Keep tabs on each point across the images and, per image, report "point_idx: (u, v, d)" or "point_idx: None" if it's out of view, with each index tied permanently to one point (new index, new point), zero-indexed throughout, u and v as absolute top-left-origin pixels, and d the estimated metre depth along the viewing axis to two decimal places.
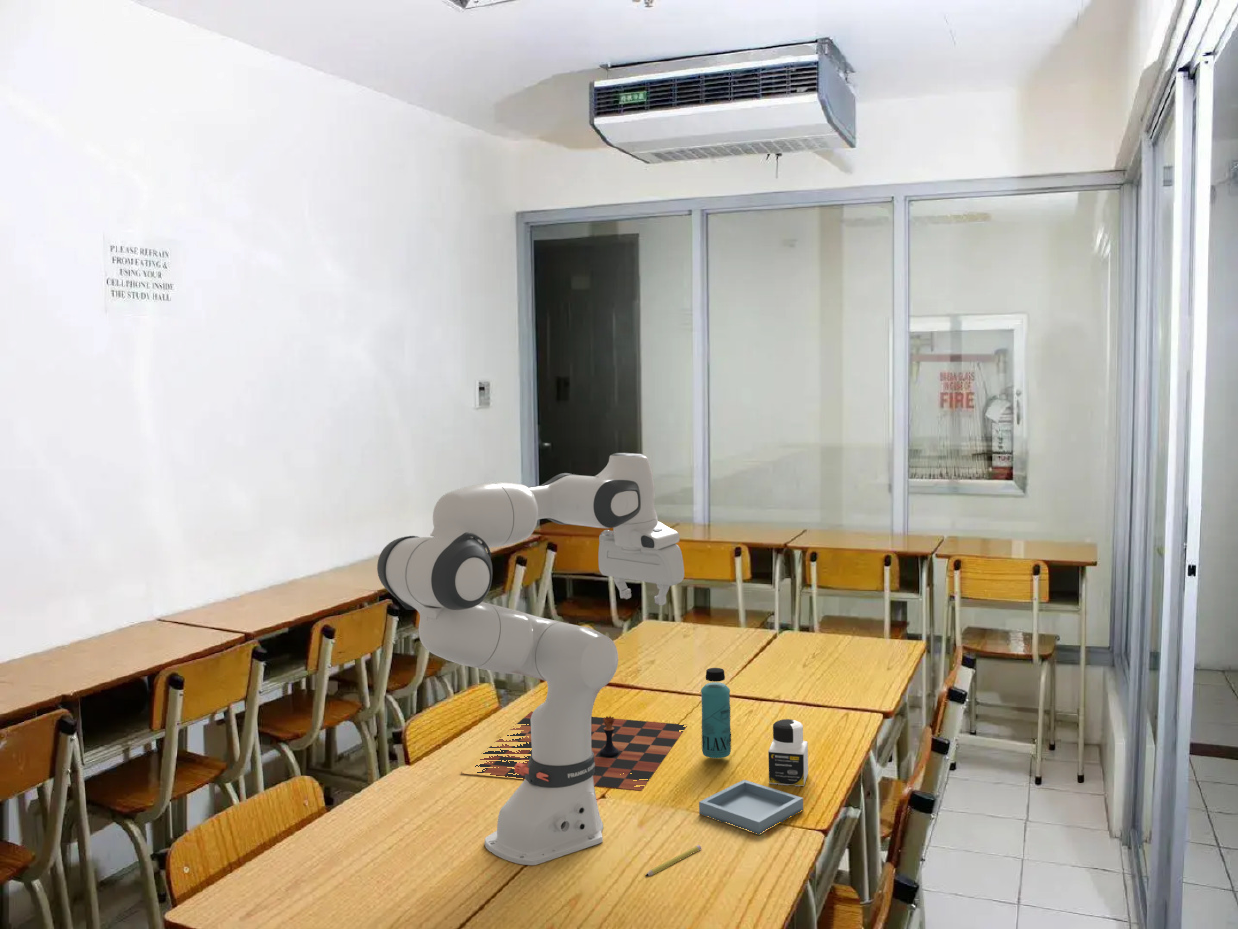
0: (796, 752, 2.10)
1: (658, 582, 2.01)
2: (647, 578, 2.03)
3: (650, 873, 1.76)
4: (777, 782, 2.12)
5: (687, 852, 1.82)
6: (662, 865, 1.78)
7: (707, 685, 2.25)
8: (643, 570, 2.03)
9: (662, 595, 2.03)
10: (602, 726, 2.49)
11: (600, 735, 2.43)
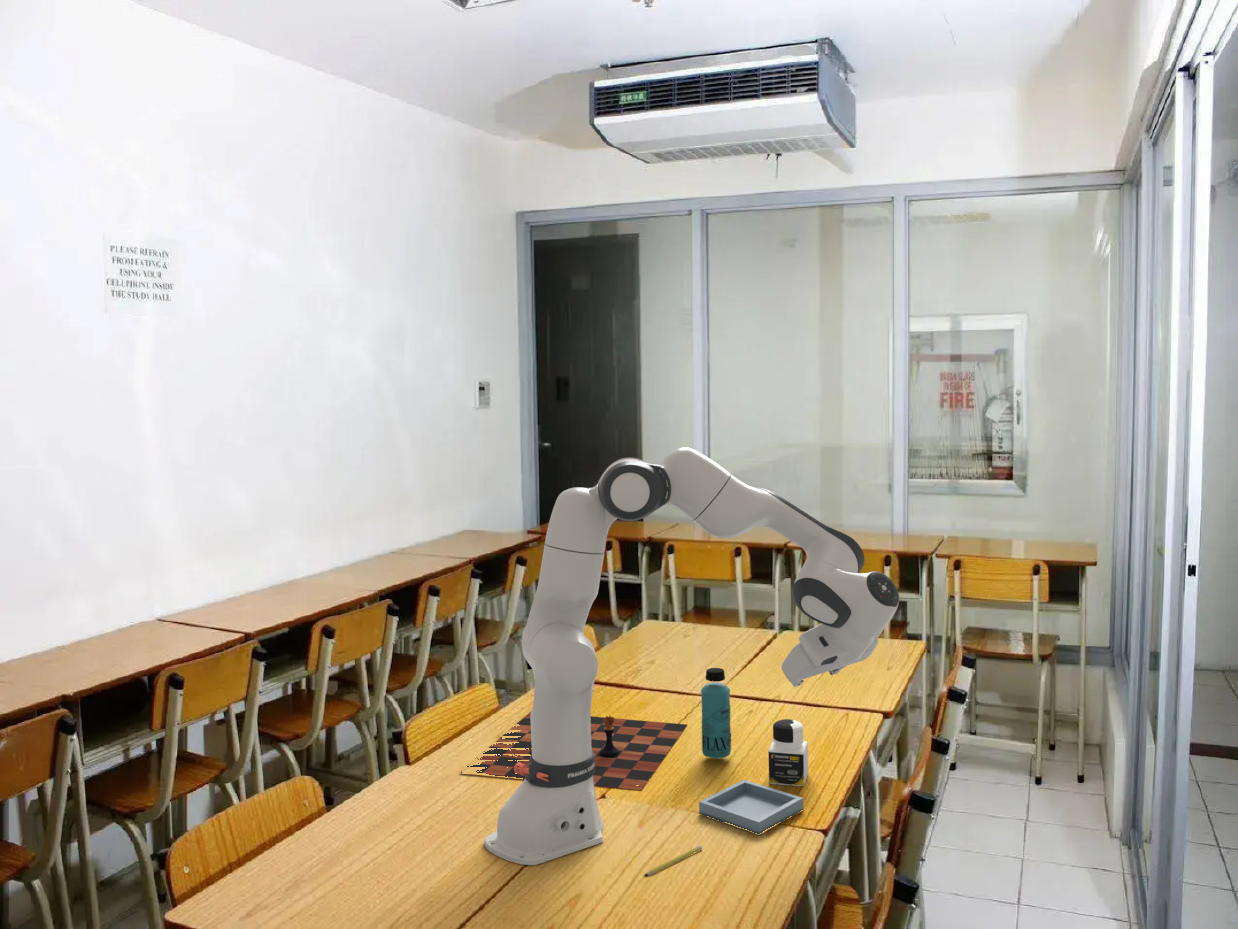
0: (796, 752, 2.10)
1: None
2: None
3: (649, 873, 1.76)
4: (777, 782, 2.12)
5: (688, 852, 1.82)
6: (662, 865, 1.78)
7: (707, 685, 2.25)
8: None
9: None
10: (602, 726, 2.49)
11: (600, 735, 2.43)
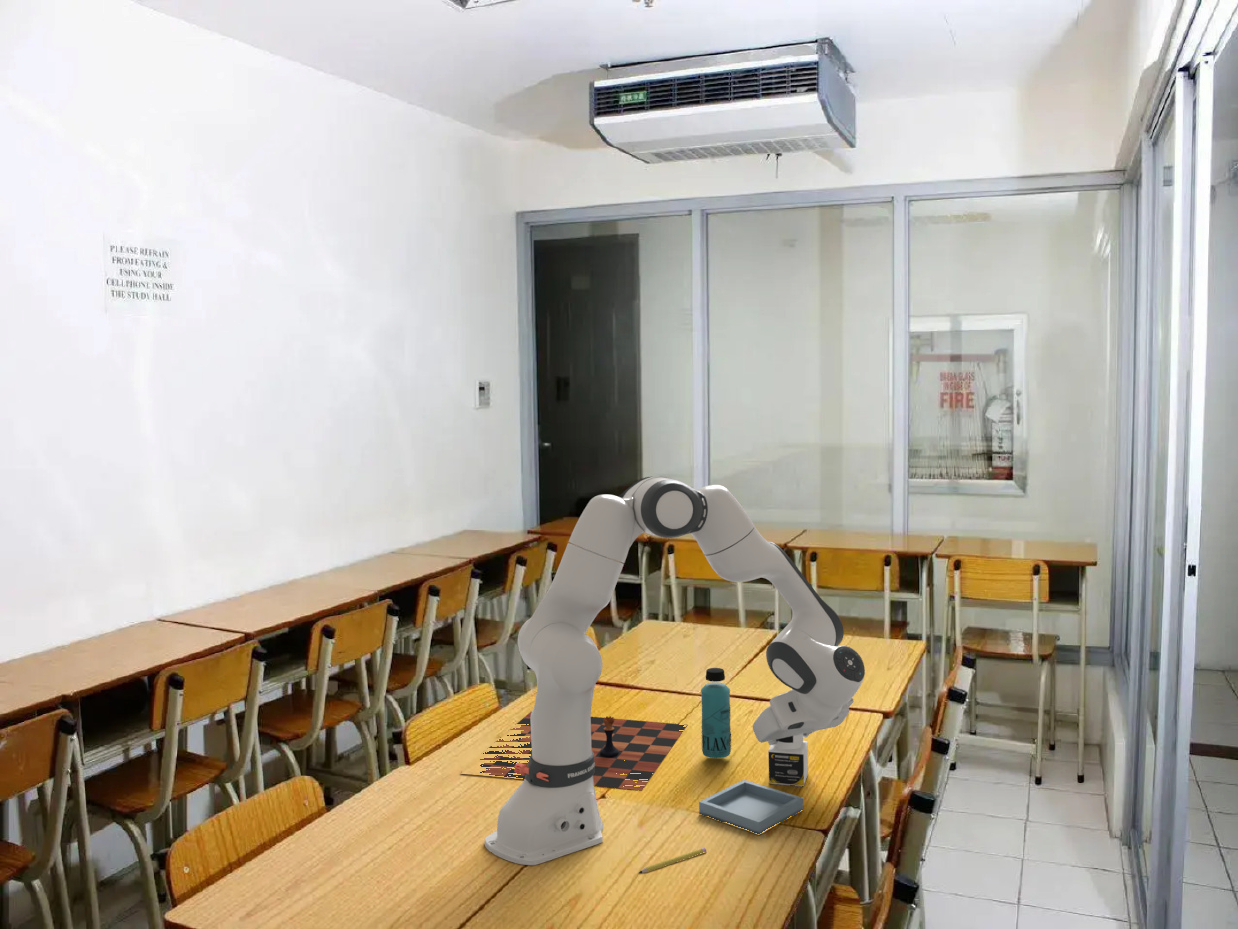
0: (796, 752, 2.10)
1: None
2: None
3: (644, 870, 1.77)
4: (777, 782, 2.12)
5: (689, 853, 1.82)
6: (659, 864, 1.78)
7: (707, 685, 2.25)
8: None
9: None
10: (602, 726, 2.49)
11: (600, 735, 2.43)
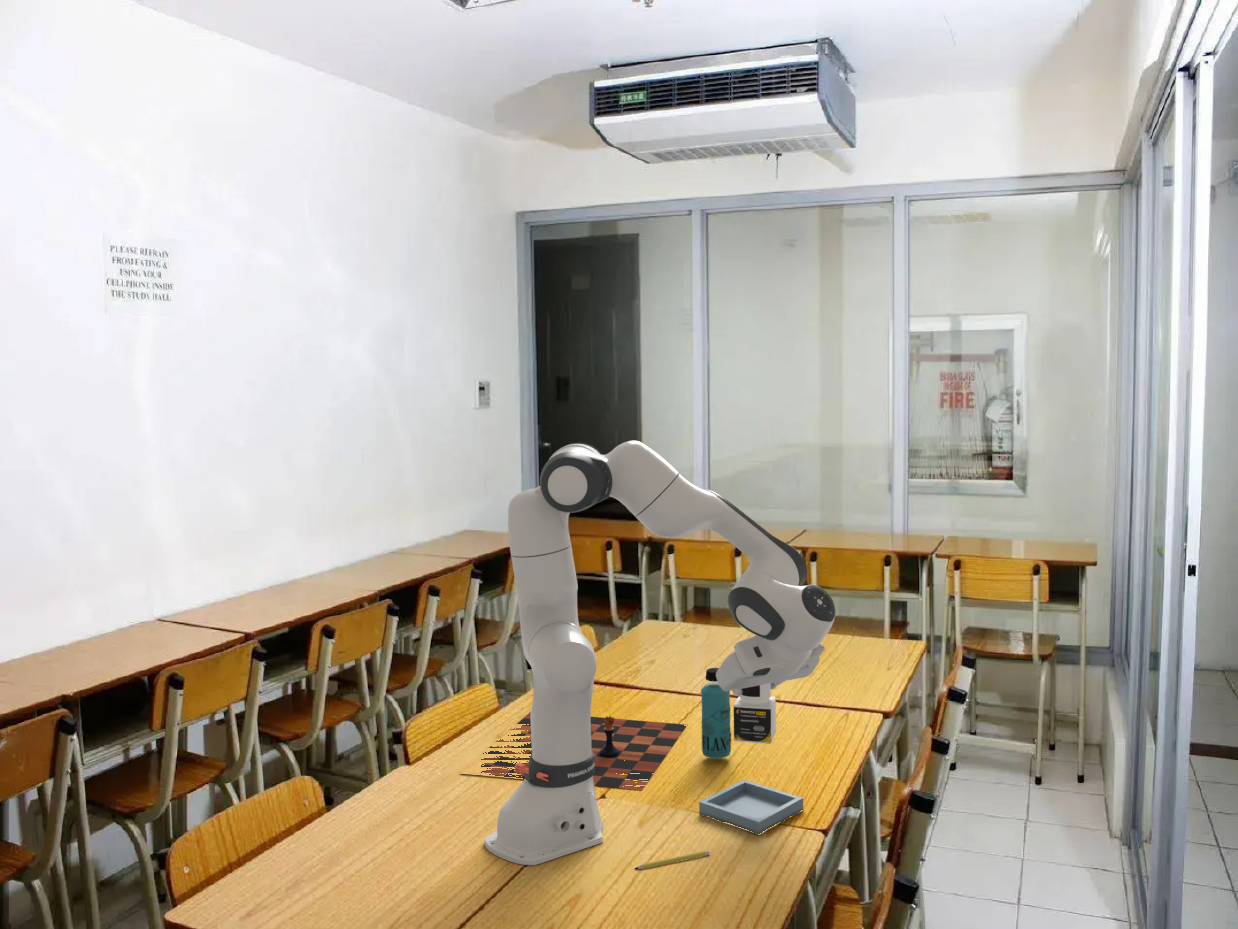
0: (762, 707, 1.96)
1: None
2: None
3: (640, 867, 1.78)
4: (742, 739, 1.98)
5: (691, 855, 1.81)
6: (657, 862, 1.79)
7: (707, 685, 2.25)
8: None
9: None
10: (602, 726, 2.49)
11: (600, 735, 2.43)
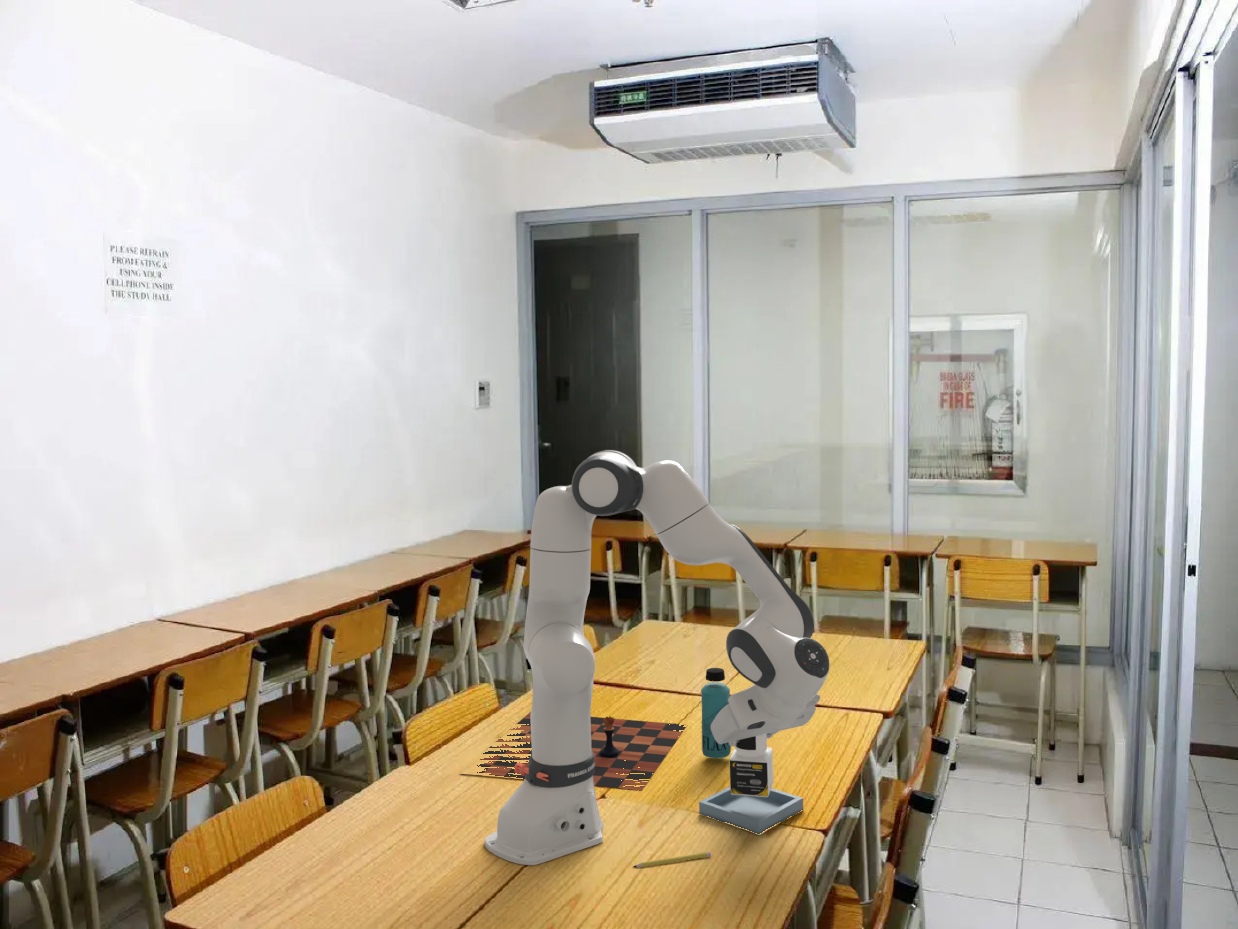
0: (759, 761, 1.94)
1: None
2: None
3: (639, 865, 1.79)
4: (739, 793, 1.96)
5: (691, 855, 1.81)
6: (656, 861, 1.80)
7: (707, 685, 2.25)
8: None
9: None
10: (602, 726, 2.49)
11: (600, 736, 2.43)
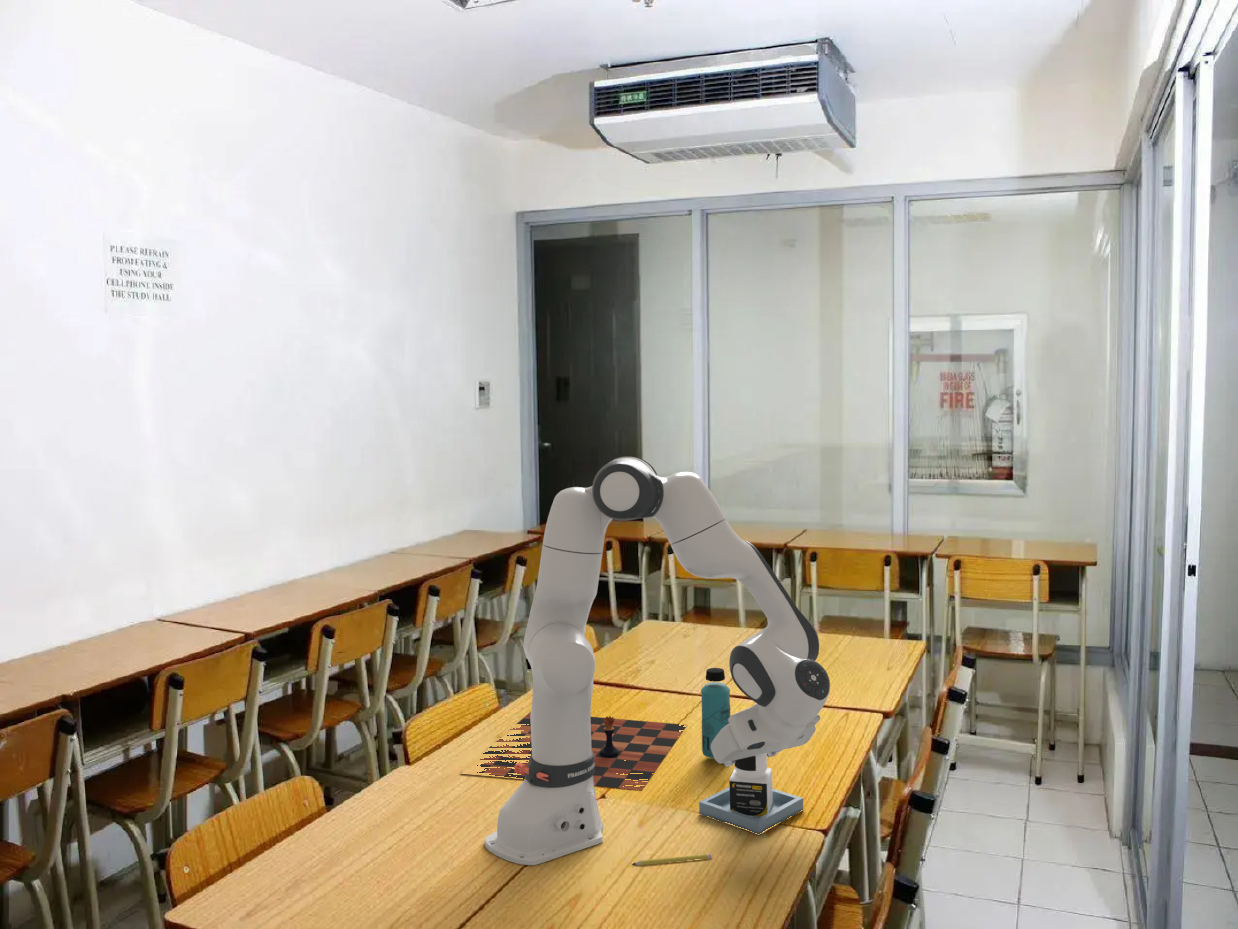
0: (758, 782, 1.95)
1: None
2: None
3: (638, 863, 1.79)
4: None
5: (692, 856, 1.81)
6: (655, 860, 1.80)
7: (707, 685, 2.25)
8: None
9: None
10: (602, 726, 2.49)
11: (600, 736, 2.43)
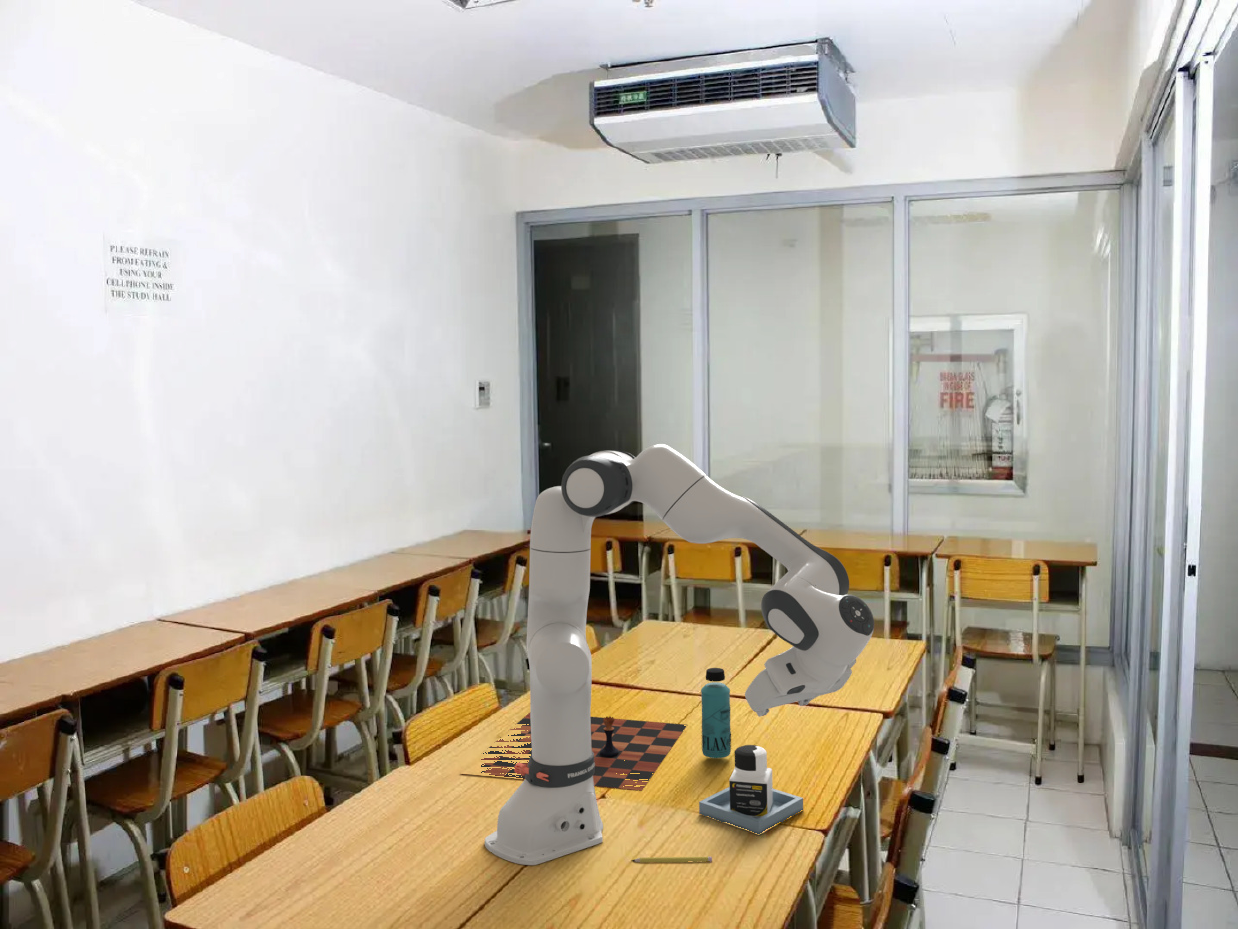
0: (758, 782, 1.95)
1: None
2: None
3: (637, 860, 1.81)
4: None
5: (692, 858, 1.80)
6: (655, 858, 1.81)
7: (707, 685, 2.25)
8: None
9: None
10: (602, 726, 2.49)
11: (600, 735, 2.43)
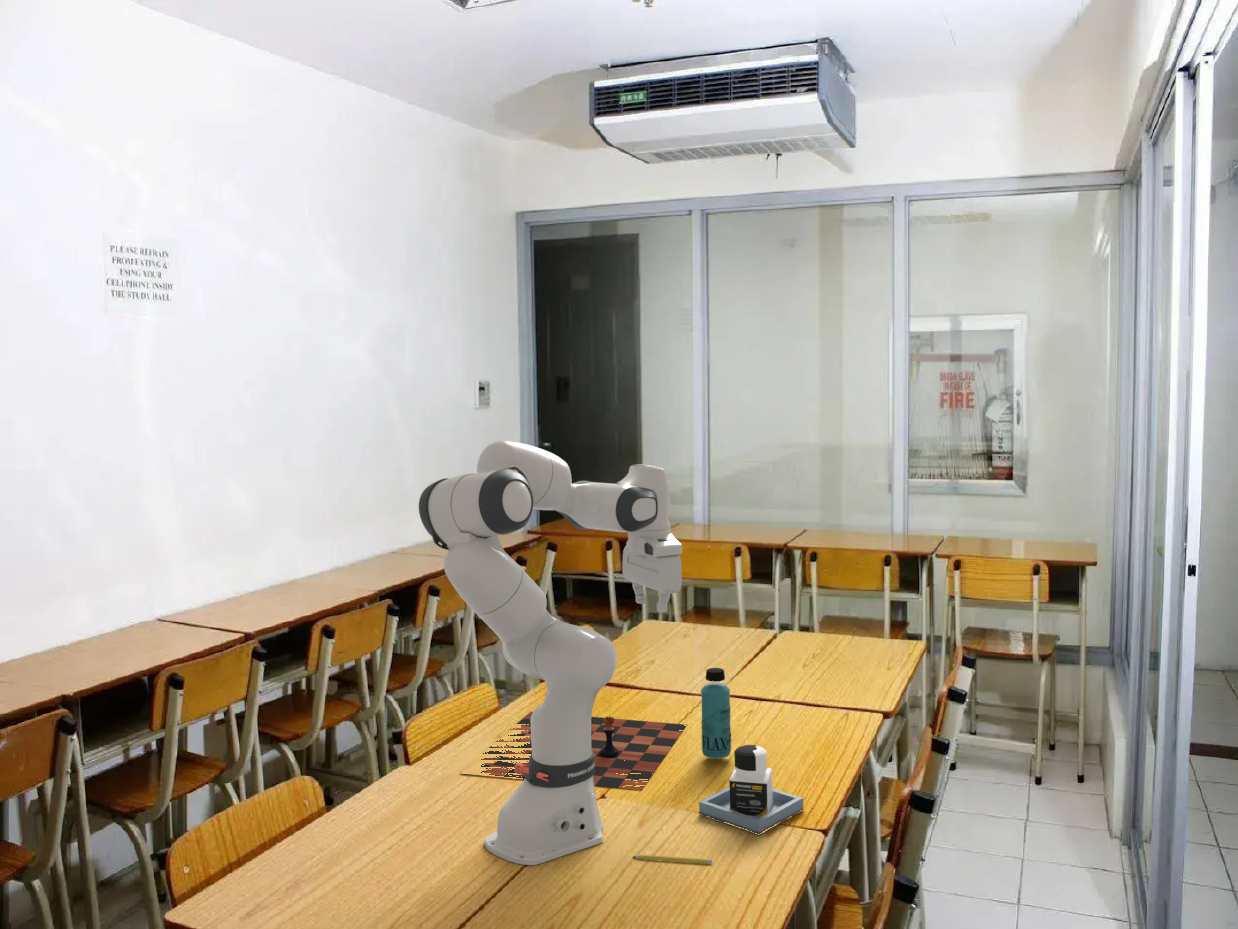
0: (758, 781, 1.95)
1: (657, 589, 2.11)
2: (650, 584, 2.14)
3: (637, 857, 1.82)
4: None
5: (692, 859, 1.80)
6: (655, 857, 1.81)
7: (707, 685, 2.25)
8: (648, 577, 2.15)
9: (662, 603, 2.13)
10: (602, 726, 2.49)
11: (600, 735, 2.43)
